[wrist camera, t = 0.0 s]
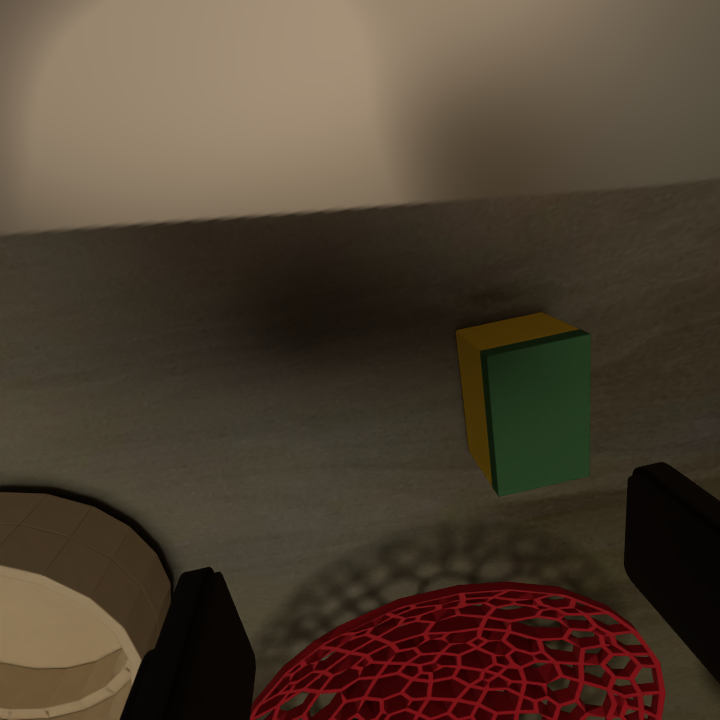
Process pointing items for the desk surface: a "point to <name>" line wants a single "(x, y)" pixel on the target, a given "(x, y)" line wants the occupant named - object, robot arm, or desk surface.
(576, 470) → the sponge
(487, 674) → the bowl
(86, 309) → the desk surface
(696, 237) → the desk surface
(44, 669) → the wash bowl
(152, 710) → the robot arm
